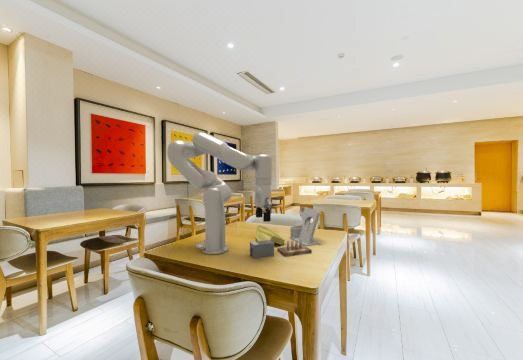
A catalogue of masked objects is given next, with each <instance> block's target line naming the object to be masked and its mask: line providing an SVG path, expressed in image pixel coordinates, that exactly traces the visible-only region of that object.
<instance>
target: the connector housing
mask: <svg viewBox="0 0 523 360" xmlns="http://www.w3.org/2000/svg"><path fill="white" fill-rule="evenodd" d="M249 255H250V256H251V257H252V259H253V260H254V259H262V258H269V257H275V243H274V242H272V241H271V240H266V241H257V240H256V241H255V240H254V241H250V242H249Z"/></svg>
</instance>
